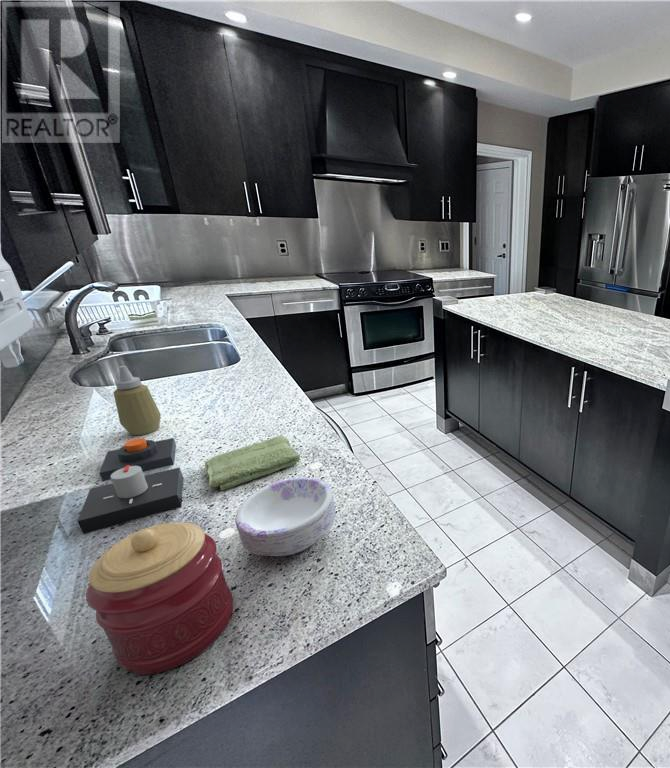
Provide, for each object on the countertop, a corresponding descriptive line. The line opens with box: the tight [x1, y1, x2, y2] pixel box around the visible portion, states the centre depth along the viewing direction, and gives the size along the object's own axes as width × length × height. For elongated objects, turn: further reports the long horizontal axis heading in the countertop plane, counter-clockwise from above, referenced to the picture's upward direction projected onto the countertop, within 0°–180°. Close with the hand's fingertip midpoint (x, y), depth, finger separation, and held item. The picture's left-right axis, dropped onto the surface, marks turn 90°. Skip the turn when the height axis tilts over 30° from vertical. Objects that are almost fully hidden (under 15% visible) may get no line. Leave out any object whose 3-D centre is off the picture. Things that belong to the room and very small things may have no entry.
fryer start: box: [123, 437, 147, 452], centre depth 92 cm, size 4×4×2 cm
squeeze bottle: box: [113, 365, 162, 436], centre depth 103 cm, size 8×8×18 cm
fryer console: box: [76, 467, 184, 535], centre depth 80 cm, size 14×11×3 cm
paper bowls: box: [234, 476, 337, 557], centre depth 72 cm, size 15×15×8 cm
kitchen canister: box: [85, 522, 234, 675], centre depth 54 cm, size 13×13×18 cm
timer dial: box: [110, 465, 148, 498], centre depth 78 cm, size 4×4×5 cm
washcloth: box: [204, 435, 301, 491], centre depth 93 cm, size 13×18×3 cm
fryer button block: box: [99, 437, 177, 482], centre depth 93 cm, size 12×10×4 cm
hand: (15, 365), depth 74 cm, fingers closed
